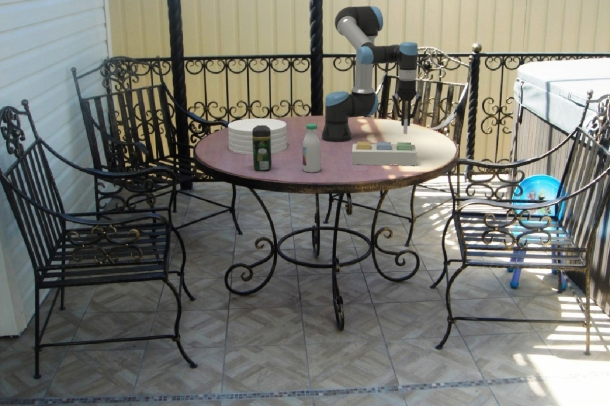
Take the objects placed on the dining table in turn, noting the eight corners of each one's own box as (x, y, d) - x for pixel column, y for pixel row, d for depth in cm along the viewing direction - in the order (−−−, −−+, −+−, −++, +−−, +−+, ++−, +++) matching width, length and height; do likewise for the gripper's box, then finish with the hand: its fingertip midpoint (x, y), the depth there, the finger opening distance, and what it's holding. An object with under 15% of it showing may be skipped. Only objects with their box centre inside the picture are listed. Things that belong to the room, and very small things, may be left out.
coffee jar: (253, 165, 292) (252, 124, 285) (271, 165, 292) (270, 123, 286) (252, 171, 282) (251, 129, 276) (271, 171, 283) (270, 128, 277)
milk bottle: (322, 168, 286) (323, 123, 280) (317, 173, 279) (317, 127, 273) (306, 167, 289) (305, 122, 282) (300, 172, 282) (299, 125, 275)
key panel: (351, 164, 292) (352, 151, 290) (352, 156, 305) (352, 143, 303) (416, 165, 289) (416, 152, 287) (414, 157, 303) (414, 144, 301)
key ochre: (356, 153, 294) (357, 144, 293) (357, 150, 300) (357, 141, 298) (370, 153, 294) (370, 145, 292) (370, 150, 299) (370, 141, 298)
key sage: (397, 154, 293) (398, 145, 291) (397, 150, 298) (397, 142, 297) (411, 154, 292) (411, 145, 291) (410, 151, 298) (410, 142, 296)
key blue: (377, 154, 293) (377, 145, 292) (377, 150, 299) (377, 141, 298) (390, 154, 293) (391, 145, 291) (390, 150, 298) (390, 142, 297)
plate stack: (254, 138, 341) (253, 116, 337) (298, 145, 325) (297, 122, 321) (217, 149, 319) (215, 126, 315) (262, 158, 304) (261, 133, 300)
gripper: (392, 80, 281) (390, 134, 289) (423, 80, 280) (420, 135, 288) (391, 78, 288) (390, 131, 296) (422, 78, 287) (419, 131, 295)
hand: (405, 133), depth 292 cm, fingers closed
